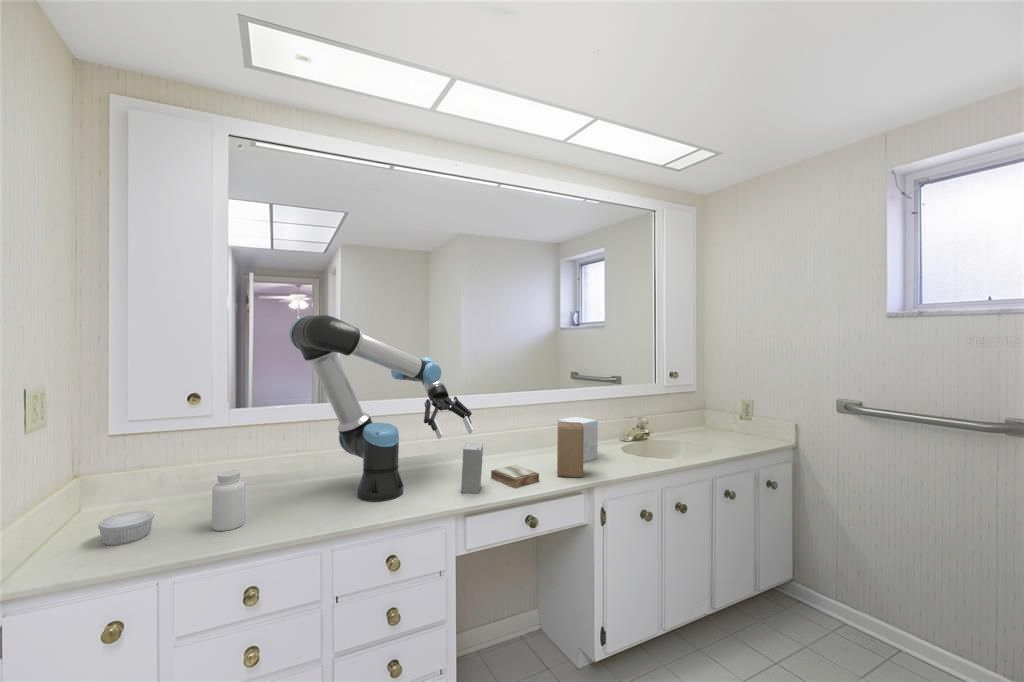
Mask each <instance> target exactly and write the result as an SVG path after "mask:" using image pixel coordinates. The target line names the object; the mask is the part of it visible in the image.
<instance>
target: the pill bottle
mask: <svg viewBox="0 0 1024 682" xmlns="http://www.w3.org/2000/svg"><path fill="white" fill-rule="evenodd" d="M240 476H241V472H240V471H239V470H225V471H223V472H219V473H218V474H217V482H218V483H216V484H214V486H213V487H212V490H211V491H212V493H211V503H212V504H211V505H212V506H211V526H212V530H214V531H216V532H223V531H224V532H225V531H230V530H234V529H237V528H240V527H242V526H243V525H244V524H245V521H246V484H245V481H244V480H242V479H241V477H240Z"/></svg>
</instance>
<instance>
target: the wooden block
mask: <svg viewBox="0 0 1024 682" xmlns="http://www.w3.org/2000/svg"><path fill="white" fill-rule="evenodd" d="M557 440H558V445H556V446H557V448H556V449H557V450H556V451H557V453H556V455H557V460H556V461H557V462H556V463H557V464H556V467H557V468H556V469H557V470H556V474H557V476H558V477H559V478H580V479H581V478H583V476H584V462H583V444H584V428H583V425H582V423H580V422H559V423H558V422H557Z"/></svg>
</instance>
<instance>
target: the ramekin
mask: <svg viewBox="0 0 1024 682" xmlns="http://www.w3.org/2000/svg"><path fill="white" fill-rule="evenodd" d="M154 517H155V513H154V512H153V511H151V510H143V509H141V510H139V509H138V510H132V511H126V512H125V511H124V512H121V513H117V514H115V515H110V516H108V517H106V518H104V519H102V520H101V521H99V522H98V525H97V527H98V529H99V533H100V537H101V542H102V543H103V544H105V545H106V546H119V545H125V544H130V543H134V542H137V541H139V540H142V539H144V538H146V537H147V536H148V535H149V533H150V532H151V530H152V524H153V519H154Z"/></svg>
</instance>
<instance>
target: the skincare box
mask: <svg viewBox="0 0 1024 682" xmlns="http://www.w3.org/2000/svg"><path fill="white" fill-rule="evenodd" d="M462 451H463V452H462V466H461V468H462V469H461V487H460V488H461V489H460V492H461V494H479V493H480V489H481V486H482V473H483V472H482V470H483V454H484V453H483V452H484V443H477V442H476V443H474V442H466V443H465V445H464V446H463V448H462Z"/></svg>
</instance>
